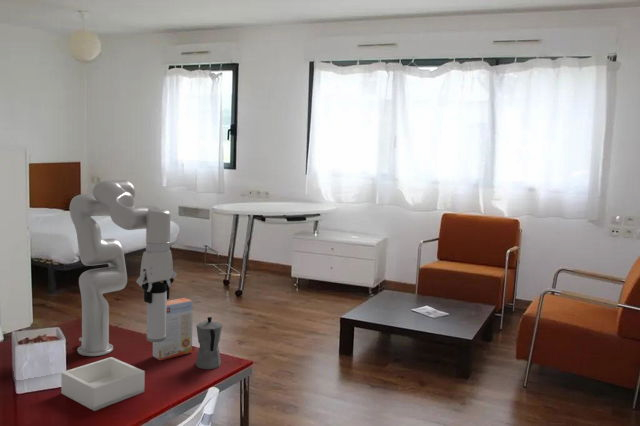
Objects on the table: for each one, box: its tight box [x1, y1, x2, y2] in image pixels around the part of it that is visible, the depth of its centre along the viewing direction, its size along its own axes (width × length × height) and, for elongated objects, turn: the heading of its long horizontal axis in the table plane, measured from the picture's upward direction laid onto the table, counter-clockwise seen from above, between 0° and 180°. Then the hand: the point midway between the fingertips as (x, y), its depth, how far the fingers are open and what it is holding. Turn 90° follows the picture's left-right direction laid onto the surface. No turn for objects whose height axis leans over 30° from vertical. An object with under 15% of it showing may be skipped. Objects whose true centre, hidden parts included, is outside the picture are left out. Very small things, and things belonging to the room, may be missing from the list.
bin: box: [60, 356, 146, 412], centre depth 185 cm, size 18×18×7 cm
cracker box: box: [152, 297, 194, 361], centre depth 219 cm, size 14×6×21 cm, turn 133°
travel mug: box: [146, 281, 168, 343], centre depth 192 cm, size 6×7×20 cm
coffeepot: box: [195, 316, 223, 370], centre depth 210 cm, size 15×9×18 cm, turn 20°
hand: (156, 299), depth 192 cm, fingers closed on travel mug, 6 cm apart
